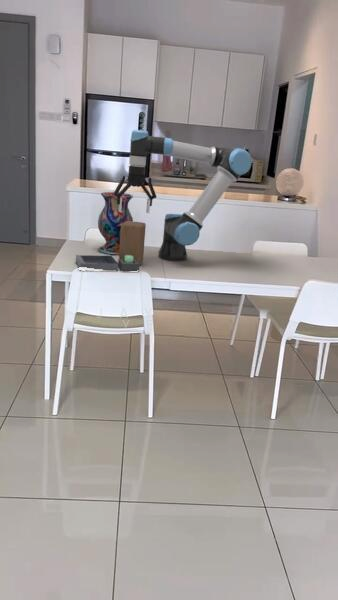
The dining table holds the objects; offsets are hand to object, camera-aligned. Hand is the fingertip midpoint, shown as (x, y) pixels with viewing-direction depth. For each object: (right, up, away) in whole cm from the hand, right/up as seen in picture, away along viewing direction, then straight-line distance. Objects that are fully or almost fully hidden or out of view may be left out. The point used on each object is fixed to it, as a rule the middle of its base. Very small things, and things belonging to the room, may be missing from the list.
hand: (133, 212), depth 229 cm
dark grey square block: (-2, -27, -3) cm, 28 cm away
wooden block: (-2, -24, +8) cm, 25 cm away
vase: (-13, -16, +29) cm, 36 cm away
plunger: (-2, -26, -4) cm, 26 cm away
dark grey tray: (-17, -26, -3) cm, 31 cm away
